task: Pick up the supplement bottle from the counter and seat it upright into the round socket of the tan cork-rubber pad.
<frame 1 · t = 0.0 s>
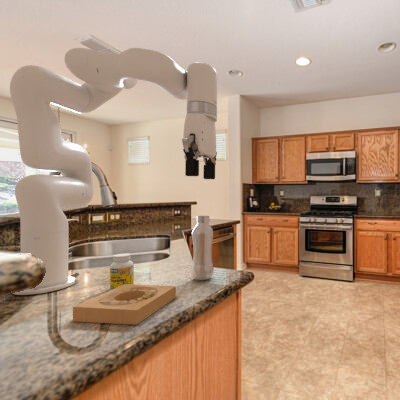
hand: (201, 177, 67), 31 cm above the countertop, tool pointing down, fingers open, 9 cm apart
plastic bottle: (202, 279, 80), on the countertop
socket pad: (129, 308, 59), on the countertop
supplement bottle: (121, 289, 70), on the countertop
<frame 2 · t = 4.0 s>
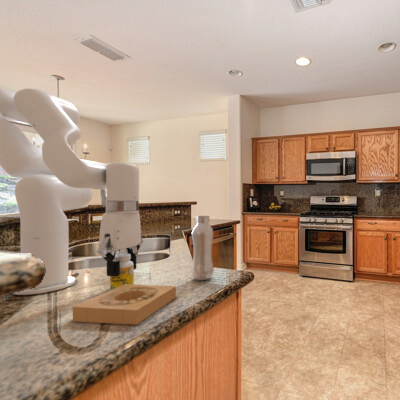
hand: (122, 271, 70), 5 cm above the countertop, tool pointing down, fingers closed on supplement bottle, 5 cm apart
supplement bottle: (122, 289, 70), on the countertop, touching gripper
everything else where it was.
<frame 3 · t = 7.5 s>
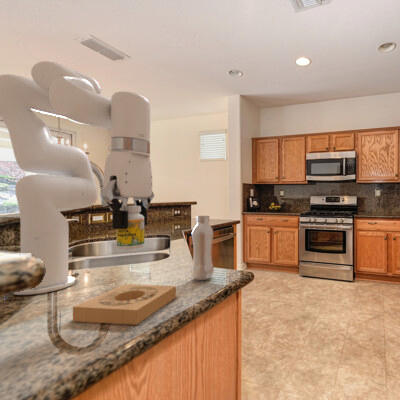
hand: (130, 226, 59), 19 cm above the countertop, tool pointing down, fingers closed on supplement bottle, 5 cm apart
supplement bottle: (130, 248, 59), point 14 cm above the countertop, touching gripper
everything else where it was.
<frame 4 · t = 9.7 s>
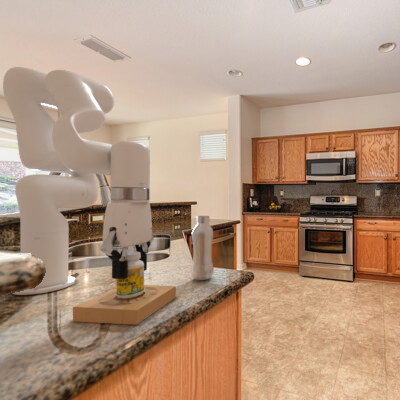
hand: (130, 273, 59), 8 cm above the countertop, tool pointing down, fingers closed on supplement bottle, 5 cm apart
supplement bottle: (130, 295, 59), point 3 cm above the countertop, touching gripper
everything else where it was.
when the fingers open (5 cm above the countertop, at t = 11.0 s): supplement bottle stays where it is, resting in socket pad.
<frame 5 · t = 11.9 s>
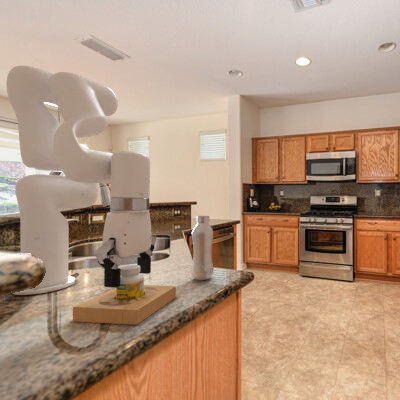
hand: (129, 279, 59), 7 cm above the countertop, tool pointing down, fingers open, 9 cm apart
supplement bottle: (130, 309, 59), resting in socket pad
everything else where it was.
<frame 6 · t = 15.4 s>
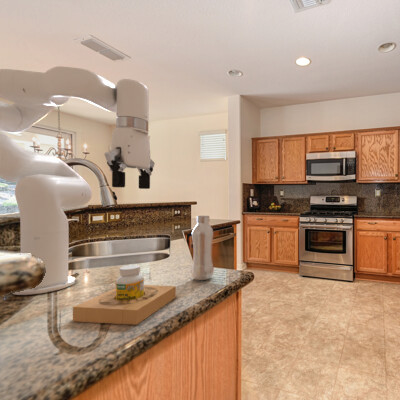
hand: (132, 188, 71), 28 cm above the countertop, tool pointing down, fingers open, 9 cm apart
nothing on the countertop moved.
at the end: supplement bottle 0.0 cm off-centre in the socket pad, point 0.0 cm above the socket pad's base; supplement bottle tilted 0°; the gripper is holding nothing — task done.
